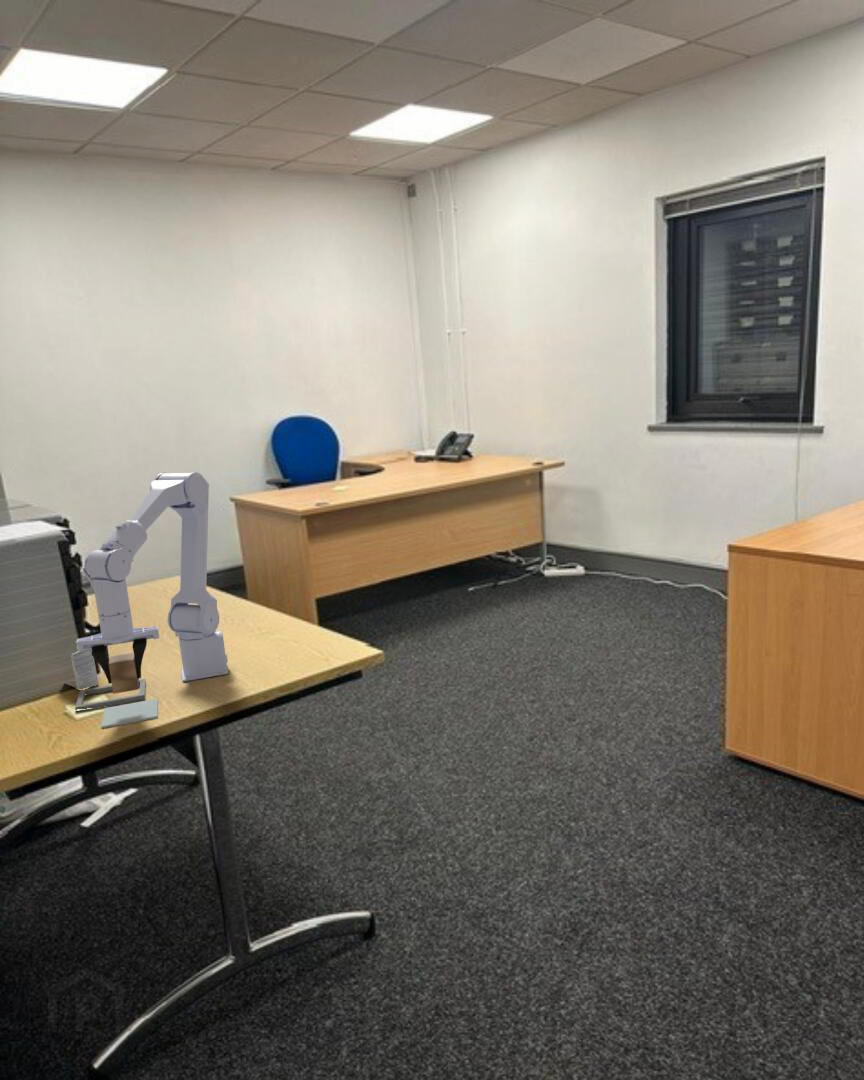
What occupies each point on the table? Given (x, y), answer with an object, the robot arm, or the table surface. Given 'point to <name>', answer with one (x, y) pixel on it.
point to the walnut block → (123, 673)
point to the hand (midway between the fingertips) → (125, 679)
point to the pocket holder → (111, 701)
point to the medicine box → (84, 668)
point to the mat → (130, 713)
